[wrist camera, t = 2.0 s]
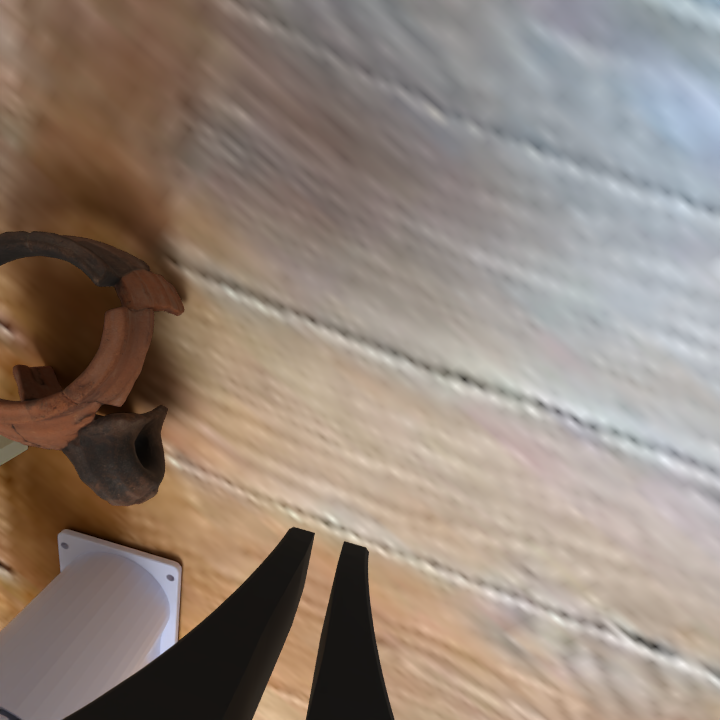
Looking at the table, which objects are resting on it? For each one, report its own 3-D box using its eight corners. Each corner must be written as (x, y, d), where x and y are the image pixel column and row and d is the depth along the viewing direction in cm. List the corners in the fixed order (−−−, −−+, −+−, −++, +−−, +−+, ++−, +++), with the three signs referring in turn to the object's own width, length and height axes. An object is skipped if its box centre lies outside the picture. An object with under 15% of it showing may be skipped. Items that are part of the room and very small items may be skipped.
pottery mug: (5, 334, 23) (-170, 289, 15) (161, 246, 25) (77, 161, 16) (118, 525, 22) (-3, 587, 14) (274, 424, 24) (244, 427, 16)
